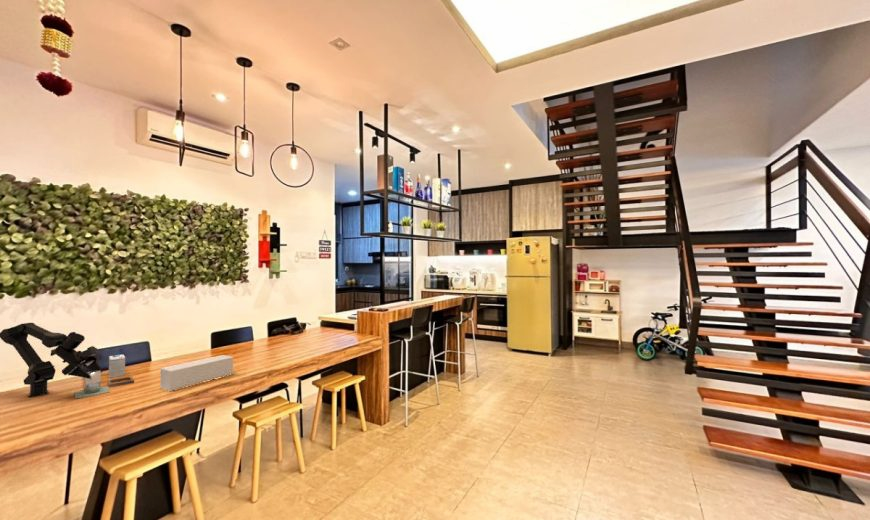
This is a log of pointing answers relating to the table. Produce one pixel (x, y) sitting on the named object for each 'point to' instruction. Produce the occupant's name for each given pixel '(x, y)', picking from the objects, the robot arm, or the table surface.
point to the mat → (102, 390)
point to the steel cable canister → (92, 382)
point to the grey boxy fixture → (116, 366)
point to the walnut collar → (120, 382)
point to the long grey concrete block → (195, 372)
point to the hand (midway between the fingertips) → (95, 374)
